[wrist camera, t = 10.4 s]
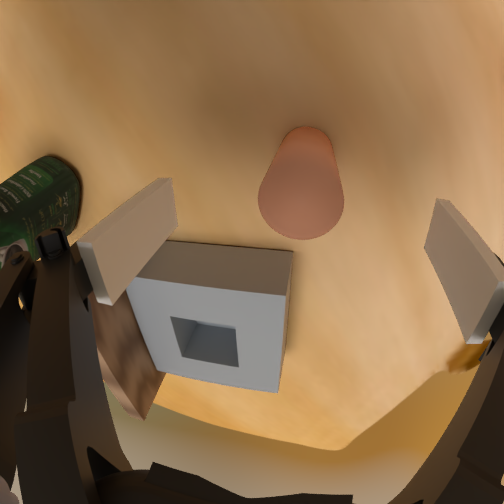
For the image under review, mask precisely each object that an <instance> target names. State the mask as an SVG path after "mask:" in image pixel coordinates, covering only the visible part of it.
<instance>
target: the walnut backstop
mask: <svg viewBox="0 0 504 504" xmlns="http://www.w3.org/2000/svg"><path fill="white" fill-rule="evenodd" d="M88 298H89V300H90V303H91V309H92V317H93V325H94V332H95V339H96V345H97V351H98V357H99V363H100V368H101V373H102V378H103V380H104V381H105V383H106V384H107V385H108V387H109V388H110V390H111V391H112V393H113V394H114V395H115V397H116V398H117V400H118V401H119V403H120V404H121V405H122V407H123V408H124V409H125V411H126V412H127V413H128V415H129V416H131V417H134V418H137V419H140V420H142V421H144V420H145V418H146V416H147V414H148V411H149V409H150V407H151V405H152V403H153V400H154V398H155V396H156V394H157V392H158V389H159V387H160V385H161V383H162V381H163V379H164V376H165V374H166V372H162V371H158V370H157V369H156V366H155V364H154V362H153V359H152V357H151V355H150V352H149V350H148V348H147V345H146V343H145V340H144V338H143V335H142V333H141V330H140V327H139V325H138V322H137V320H136V317H135V314H134V311H133V309H132V306H131V303H130V300H129V297H128V294H127V292H126V289H125V290H124V292H123V293H122V294H121V295H120V297H119V298H118V299H117V301H116V302H115V303H114V304H113V306H112V305H107V304H103V303H99V302H98V301H97V299H96V296H95V294H94V291H92V292H91V293H90V294H89V296H88Z"/></svg>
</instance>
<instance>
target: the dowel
mask: <svg viewBox="0 0 504 504" xmlns="http://www.w3.org/2000/svg"><path fill="white" fill-rule="evenodd" d="M258 204H259V209H260V212H261V214H262V216H263V218H264V220H265V221H266V222H267V224H268V225H269V226H270V227H271V228H272V229H274V230H275V231H276V232H278V233H279V234H281V235H283V236H286V237H288V238H292V239H298V240H307V239H313V238H317V237H320V236H322V235H324V234H325V233H327V232H329V231H330V230H331V229H332V228H333V227H334V226H335V225H336V224H337V222H338V221H339V219H340V217H341V215H342V212H343V208H344V195H343V190H342V186H341V181H340V177H339V173H338V168H337V164H336V160H335V156H334V152H333V148H332V145H331V142H330V140H329V139H328V137H327V136H326V135H325V134H324V133H323V132H321V131H320V130H318V129H316V128H312V127H299V128H296V129H294V130H292V131H291V132H289V133H288V134H287V135H286V137H285V138H284V140H283V142H282V144H281V146H280V148H279V150H278V152H277V154H276V155H275V157H274V159H273V161H272V163H271V165H270V167H269V169H268V171H267V173H266V175H265V177H264V179H263V181H262V183H261V186H260V189H259V193H258Z"/></svg>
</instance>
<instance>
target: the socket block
mask: <svg viewBox="0 0 504 504" xmlns="http://www.w3.org/2000/svg"><path fill="white" fill-rule="evenodd" d="M292 257H293V252H290V251H278V250H267V249H255V248H244V247H232V246H221V245H209V244H198V243H186V242H174V241H165V242H164V243H163V244H162V245H161V246H160V248H159V249H158V250H157V251H156V252H155V254H154V255H153V256H152V257H151V258H150V260H149V261H148V262H147V263H146V264H145V266H144V267H143V268H142V269H141V270H140V272H139V273H138V274H137V275H136V277H135V278H134V279H133V280H132V282H131V283H130V284H129V285H128V287H127V288H126V292H127V294H128V297H129V300H130V303H131V306H132V309H133V311H134V314H135V317H136V320H137V322H138V325H139V327H140V330H141V333H142V335H143V338H144V340H145V343H146V345H147V348H148V350H149V352H150V355H151V357H152V359H153V362H154V364H155V366H156V369H157V370H158V371H162V372H166V373H170V374H174V375H178V376H182V377H187V378H191V379H196V380H201V381H205V382H210V383H216V384H221V385H226V386H232V387H238V388H244V389H251V390H257V391H264V392H272V393H278V390H279V384H280V378H281V372H282V366H283V360H284V354H285V346H286V335H287V323H288V312H289V299H290V286H291V272H292Z"/></svg>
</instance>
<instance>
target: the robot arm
mask: <svg viewBox="0 0 504 504" xmlns="http://www.w3.org/2000/svg"><path fill="white" fill-rule="evenodd" d="M177 227H178V222H177V215H176V208H175V200H174V193H173V184H172V178H158V179H156V180H155V181H154V182H152V183H151V184H149V185H148V186H147V187H145V188H144V189H142V190H141V191H140V192H138V193H137V194H136V195H134V196H133V197H131V198H130V199H129V200H127V201H126V202H125V203H123V204H122V205H121V206H120V207H118V208H117V209H116V210H114V211H113V212H112V213H110V214H109V215H108V216H107V217H105V218H104V219H103V220H102V221H100V222H99V223H98V224H97V225H95V226H94V227H93V228H92V229H91V230H89V231H88V232H87V233H86V234H84V235H83V236H82V237H81V238H80V239H79V240H77V241H76V242H75V243H74V244H73V245H72V246H71V247H70V246H69V243H68V240H67V237H66V234H65V230H64V228H63V227H52V228H49V229H47V230H45V231H43V232H41V233H40V234H38V235H37V236H36V237H35V239H34V241H35V244H36V247H37V250H38V252H39V255H40V258H41V260H40V261H33V260H32V257H31V255H30V252H29V251H21V252H16V253H14V254H13V255H12V256H11V257H10V258H9V259H8V260H7V261H6V262H5V264H4V265H3V267H2V268H1V270H0V504H19V500H18V498H17V496H16V495H15V494H14V493H12V492H10V491H11V488H12V484H13V481H14V476H15V471H16V465H17V469H18V477H19V484H20V489H21V495H22V500H23V504H354V503H352V499H353V495H327V494H307V493H301V494H294V495H286V496H276V497H265V498H245V497H242V496H239V495H237V494H235V493H232V492H230V491H228V490H226V489H224V488H222V487H220V486H218V485H216V484H213V483H211V482H209V481H207V480H206V479H204V478H201V477H200V476H197V475H194V474H190V473H187V472H183V471H179V470H176V469H173V468H170V467H167V466H164V465H161V464H158V463H155V462H153V463H152V465H151V468H150V470H133V469H132V467H131V465H130V463H129V461H128V460H127V458H126V457H125V455H124V453H123V451H122V449H121V447H120V444H119V441H118V437H117V434H116V431H115V427H114V424H113V420H112V417H111V412H110V409H109V404H108V401H107V396H106V392H105V388H104V383H103V378H102V373H101V368H100V363H99V357H98V351H97V345H96V339H95V332H94V325H93V317H92V309H91V303H90V300H89V298H88V296H89V294H90V293H91V292H92V291H94V294H95V296H96V299H97V301H98V302H99V303H103V304H107V305H112V306H113V304H114V303H115V302H116V301H117V299H118V298H119V297H120V295H121V294H122V293H123V292H124V290H125V289H126V288H127V287H128V285H129V284H130V283H131V282H132V280H133V279H134V278H135V277H136V275H137V274H138V273H139V272H140V270H141V269H142V268H143V267H144V266H145V264H146V263H147V262H148V261H149V260H150V258H151V257H152V256H153V255H154V254H155V252H156V251H157V250H158V249H159V248H160V246H161V245H162V244H163V243H164V242H165V241H166V239H167V238H168V237H169V236H170V235H171V234H172V232H173V231H174V230H175V229H176V228H177ZM424 249H425V251H426V253H427V255H428V257H429V259H430V261H431V263H432V265H433V267H434V269H435V271H436V273H437V275H438V277H439V279H440V282H441V284H442V286H443V288H444V290H445V293H446V295H447V297H448V299H449V302H450V304H451V306H452V309H453V311H454V314H455V316H456V319H457V321H458V324H459V326H460V329H461V331H462V334H463V337H464V339H465V342H466V344H478V343H482V342H483V340H484V338H485V337H486V335H487V333H488V332H490V334H491V337H492V340H491V342H490V343H489V345H488V346H487V348H486V349H485V351H484V352H483V354H482V355H481V357H480V358H479V361H481V360H482V361H481V363H480V365H479V368H478V370H477V372H476V374H475V376H474V379H473V381H472V383H471V385H470V387H469V389H468V391H467V393H466V395H465V397H464V399H463V401H462V402H461V404H460V406H459V408H458V410H457V412H456V413H455V415H454V417H453V419H452V421H451V422H450V424H449V425H448V427H447V429H446V430H445V432H444V434H443V435H442V437H441V438H440V440H439V442H438V443H437V445H436V446H435V448H434V449H433V451H432V452H431V454H430V455H429V457H428V458H427V459H426V461H425V462H424V464H423V465H422V466H421V468H420V469H419V470H418V472H417V473H416V474H415V476H414V477H413V478H412V479H411V481H410V482H409V483H408V484H407V486H406V487H405V488H404V489H403V491H401V492H400V494H398V495H397V496H396V497H395V498H394V499H393V500H392V501H390V502H389V503H388V504H502V503H503V501H504V486H503V485H501V479H502V476H503V474H504V263H503V262H502V261H501V259H500V258H499V257H498V256H497V255H496V254H494V253H493V252H492V251H491V249H490V248H489V247H488V245H487V244H486V243H485V242H484V240H483V239H482V238H481V237H480V235H479V234H478V233H477V232H476V231H475V229H474V228H473V227H472V226H471V225H470V223H469V222H468V221H467V220H466V219H465V218H464V216H463V215H462V214H461V213H460V212H459V211H458V210H457V209H456V208H455V206H454V205H453V204H452V203H451V202H450V201H448V200H442V199H436V202H435V207H434V211H433V215H432V219H431V223H430V227H429V231H428V235H427V239H426V242H425V246H424ZM18 297H19V298H20V300H21V302H22V304H23V308H22V310H21V308H20V305H19V299H18ZM26 398H27V411H26V412H24V408H25V403H26Z"/></svg>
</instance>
